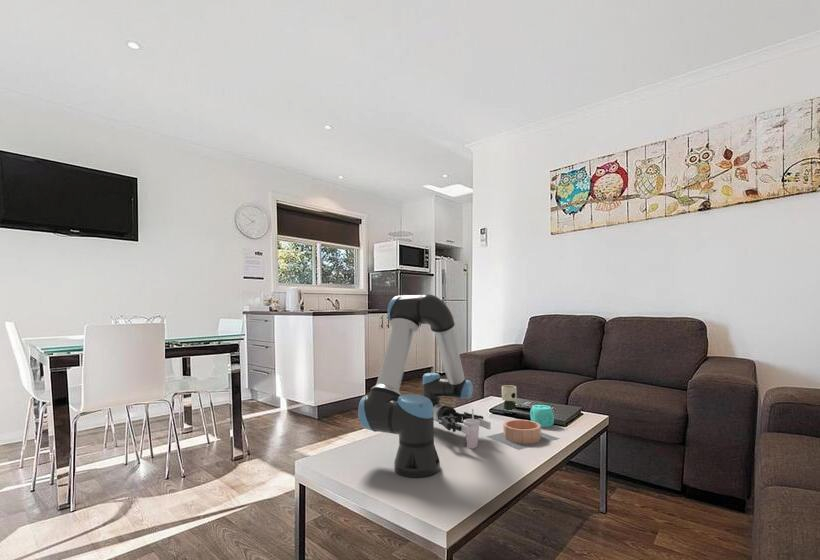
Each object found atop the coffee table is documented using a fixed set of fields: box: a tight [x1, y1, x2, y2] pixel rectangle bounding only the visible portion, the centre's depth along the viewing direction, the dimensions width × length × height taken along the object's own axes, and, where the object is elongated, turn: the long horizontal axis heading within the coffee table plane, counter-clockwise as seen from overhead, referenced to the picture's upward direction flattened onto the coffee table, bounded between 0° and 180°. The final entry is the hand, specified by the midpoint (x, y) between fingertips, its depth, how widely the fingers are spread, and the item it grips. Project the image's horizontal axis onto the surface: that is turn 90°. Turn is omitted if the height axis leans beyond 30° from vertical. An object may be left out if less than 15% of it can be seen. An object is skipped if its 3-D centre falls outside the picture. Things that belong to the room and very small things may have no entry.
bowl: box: [502, 419, 542, 444], centre depth 164 cm, size 14×14×5 cm
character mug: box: [501, 384, 518, 410], centre depth 202 cm, size 11×7×13 cm, turn 143°
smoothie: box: [462, 408, 480, 449], centre depth 157 cm, size 6×6×14 cm
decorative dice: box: [529, 404, 555, 428], centre depth 181 cm, size 8×8×8 cm
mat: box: [485, 431, 560, 451], centre depth 164 cm, size 22×18×1 cm
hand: (479, 428), depth 153 cm, fingers open, 10 cm apart
